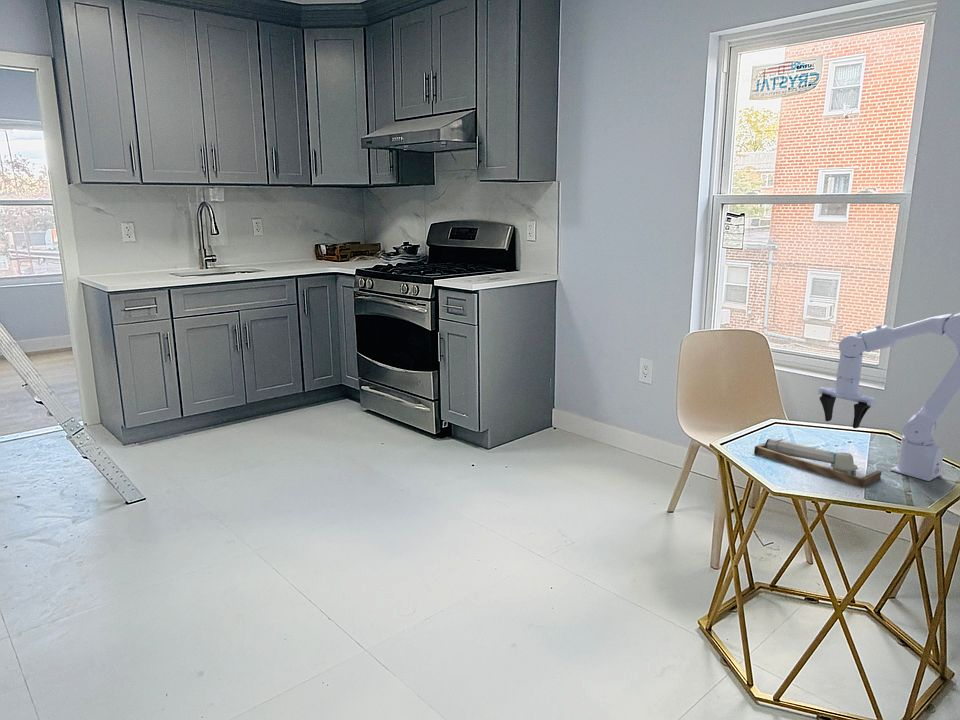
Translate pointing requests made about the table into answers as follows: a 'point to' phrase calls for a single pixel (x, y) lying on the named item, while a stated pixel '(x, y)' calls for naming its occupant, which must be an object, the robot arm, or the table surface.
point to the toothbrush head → (814, 455)
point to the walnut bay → (818, 467)
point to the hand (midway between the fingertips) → (841, 424)
